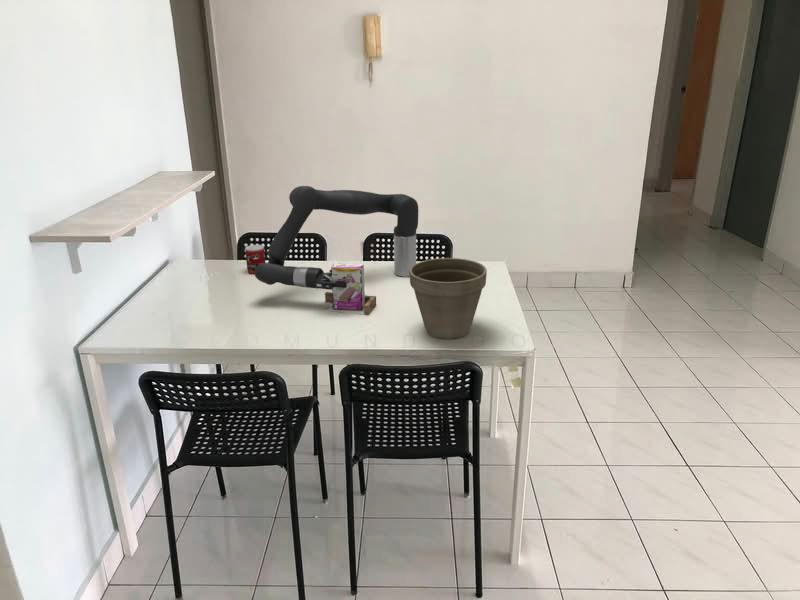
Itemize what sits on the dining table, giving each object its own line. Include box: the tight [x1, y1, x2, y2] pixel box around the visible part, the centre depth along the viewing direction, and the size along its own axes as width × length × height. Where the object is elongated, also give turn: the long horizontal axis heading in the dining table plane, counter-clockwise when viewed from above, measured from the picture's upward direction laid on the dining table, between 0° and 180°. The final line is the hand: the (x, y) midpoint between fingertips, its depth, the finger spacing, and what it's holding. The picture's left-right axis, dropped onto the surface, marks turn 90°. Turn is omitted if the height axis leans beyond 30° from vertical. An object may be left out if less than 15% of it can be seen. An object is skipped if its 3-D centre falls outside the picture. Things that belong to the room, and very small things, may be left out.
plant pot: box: [409, 257, 488, 340], centre depth 197 cm, size 25×25×22 cm
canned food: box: [244, 244, 267, 275], centre depth 258 cm, size 8×8×11 cm
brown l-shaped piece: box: [324, 291, 377, 316], centre depth 220 cm, size 10×20×4 cm, turn 75°
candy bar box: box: [330, 262, 366, 311], centre depth 216 cm, size 11×5×16 cm, turn 83°
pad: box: [327, 304, 364, 315], centre depth 219 cm, size 8×14×1 cm, turn 75°
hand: (350, 280), depth 215 cm, fingers open, 8 cm apart
